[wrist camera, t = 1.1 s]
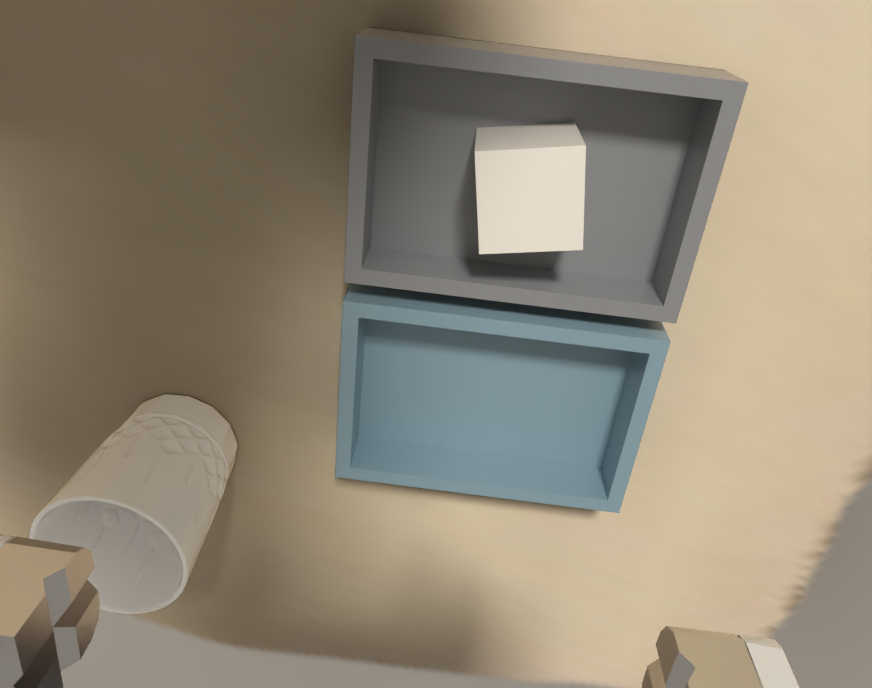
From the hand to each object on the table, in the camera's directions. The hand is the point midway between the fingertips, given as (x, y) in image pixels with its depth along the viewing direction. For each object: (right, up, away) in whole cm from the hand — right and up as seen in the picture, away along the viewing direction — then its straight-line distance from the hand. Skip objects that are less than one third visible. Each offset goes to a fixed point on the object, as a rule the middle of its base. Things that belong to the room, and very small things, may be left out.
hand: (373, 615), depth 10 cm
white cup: (-15, -2, +34) cm, 37 cm away
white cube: (+5, +12, +24) cm, 27 cm away
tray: (+5, +12, +24) cm, 28 cm away
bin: (+4, +2, +30) cm, 31 cm away
